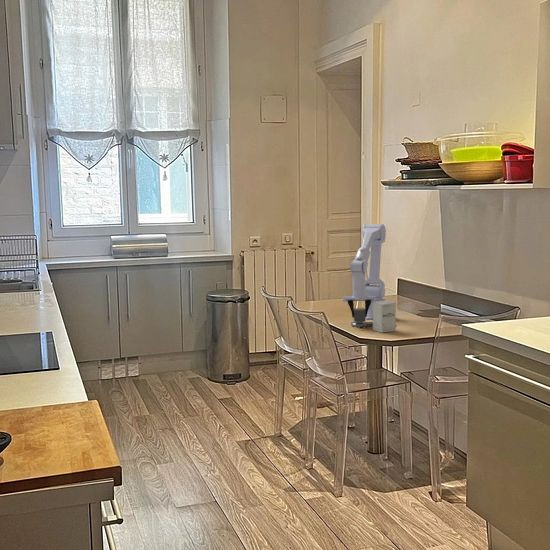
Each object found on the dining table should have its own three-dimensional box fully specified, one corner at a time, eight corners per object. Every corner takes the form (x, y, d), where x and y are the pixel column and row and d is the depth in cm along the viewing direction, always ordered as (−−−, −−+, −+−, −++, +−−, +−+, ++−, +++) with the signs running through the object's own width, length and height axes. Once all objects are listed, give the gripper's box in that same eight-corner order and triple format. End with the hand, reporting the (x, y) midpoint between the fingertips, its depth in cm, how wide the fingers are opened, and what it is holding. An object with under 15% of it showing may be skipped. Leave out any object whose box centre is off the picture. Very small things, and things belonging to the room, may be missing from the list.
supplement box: (381, 333, 300) (381, 304, 299) (372, 329, 307) (372, 301, 305) (396, 331, 303) (396, 302, 301) (386, 328, 310) (386, 299, 308)
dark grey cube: (364, 319, 318) (364, 308, 317) (365, 321, 313) (365, 310, 312) (353, 319, 318) (353, 308, 317) (354, 321, 313) (354, 310, 312)
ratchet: (393, 323, 319) (393, 315, 318) (395, 327, 311) (395, 318, 310) (350, 324, 320) (350, 315, 319) (351, 328, 312) (351, 319, 311)
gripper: (343, 288, 309) (343, 319, 311) (376, 288, 309) (376, 318, 311) (342, 286, 316) (342, 315, 318) (374, 285, 316) (375, 315, 318)
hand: (359, 316), depth 315 cm, fingers closed on dark grey cube, 5 cm apart
